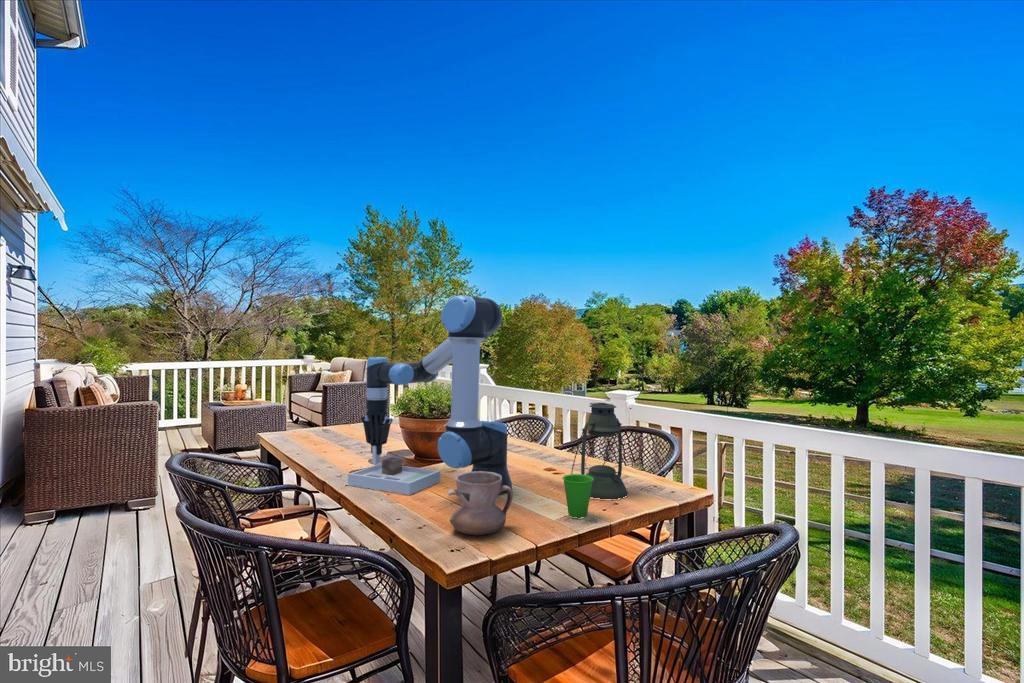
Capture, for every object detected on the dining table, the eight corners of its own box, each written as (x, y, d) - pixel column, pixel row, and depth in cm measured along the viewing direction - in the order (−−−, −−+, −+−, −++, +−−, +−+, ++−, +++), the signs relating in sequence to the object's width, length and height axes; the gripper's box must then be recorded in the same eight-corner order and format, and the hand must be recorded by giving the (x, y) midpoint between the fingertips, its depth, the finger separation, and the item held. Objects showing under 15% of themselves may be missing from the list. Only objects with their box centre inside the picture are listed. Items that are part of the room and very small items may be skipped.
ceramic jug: (451, 543, 124) (452, 486, 124) (442, 523, 137) (443, 471, 138) (520, 536, 129) (521, 481, 129) (505, 517, 143) (506, 468, 143)
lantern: (601, 505, 155) (602, 408, 155) (560, 491, 168) (561, 402, 169) (641, 493, 168) (642, 403, 168) (601, 481, 181) (601, 399, 182)
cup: (595, 521, 140) (596, 482, 140) (563, 521, 140) (563, 482, 140) (591, 511, 149) (591, 474, 149) (560, 510, 149) (561, 473, 149)
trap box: (440, 482, 179) (440, 470, 179) (409, 495, 162) (409, 483, 162) (382, 473, 190) (382, 463, 190) (348, 485, 173) (348, 473, 173)
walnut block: (401, 472, 182) (402, 458, 182) (393, 475, 178) (393, 461, 178) (390, 470, 184) (391, 457, 184) (381, 473, 180) (382, 459, 180)
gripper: (397, 398, 185) (397, 462, 185) (370, 397, 190) (369, 459, 190) (384, 400, 178) (383, 467, 178) (356, 398, 183) (355, 463, 183)
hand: (376, 463), depth 184 cm, fingers closed
